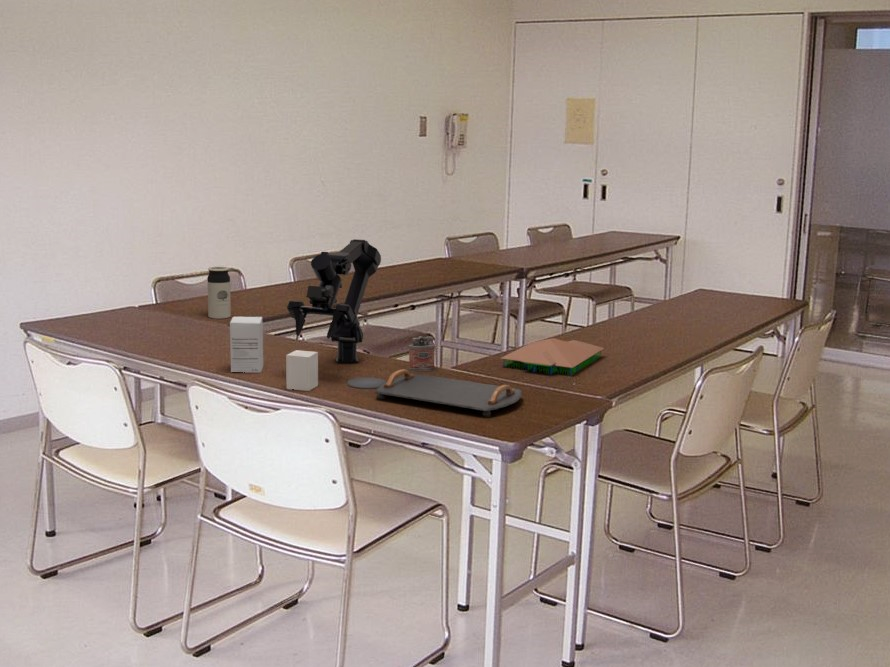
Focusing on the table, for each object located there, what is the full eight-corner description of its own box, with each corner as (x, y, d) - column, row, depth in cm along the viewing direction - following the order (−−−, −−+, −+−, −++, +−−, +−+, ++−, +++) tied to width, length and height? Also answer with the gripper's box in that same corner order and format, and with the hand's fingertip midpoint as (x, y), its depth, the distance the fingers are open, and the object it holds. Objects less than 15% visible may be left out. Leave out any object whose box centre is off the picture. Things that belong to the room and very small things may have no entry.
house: (496, 370, 317) (497, 344, 315) (536, 349, 346) (537, 325, 344) (568, 380, 307) (570, 353, 305) (603, 358, 336) (605, 333, 334)
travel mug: (207, 315, 387) (206, 266, 384) (229, 314, 390) (228, 266, 386) (209, 319, 380) (208, 270, 376) (231, 318, 382) (230, 269, 379)
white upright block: (296, 383, 295) (296, 350, 293) (317, 385, 293) (317, 352, 291) (286, 388, 289) (286, 355, 287) (308, 391, 287) (308, 357, 285)
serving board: (364, 400, 282) (364, 377, 280) (407, 381, 302) (407, 360, 300) (496, 422, 264) (497, 398, 263) (532, 401, 284) (533, 378, 283)
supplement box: (233, 365, 314) (232, 316, 311) (263, 365, 315) (263, 316, 311) (230, 373, 305) (228, 322, 302) (261, 373, 306) (260, 322, 303)
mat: (345, 379, 301) (345, 377, 301) (383, 378, 303) (383, 377, 303) (348, 389, 290) (348, 387, 290) (388, 388, 292) (388, 386, 292)
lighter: (410, 371, 311) (410, 338, 309) (407, 368, 314) (407, 336, 312) (436, 370, 314) (436, 337, 311) (433, 367, 317) (433, 335, 315)
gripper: (289, 272, 299) (272, 317, 291) (350, 276, 294) (335, 322, 286) (300, 295, 308) (285, 339, 300) (360, 299, 303) (346, 345, 295)
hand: (312, 336), depth 295 cm, fingers open, 9 cm apart
